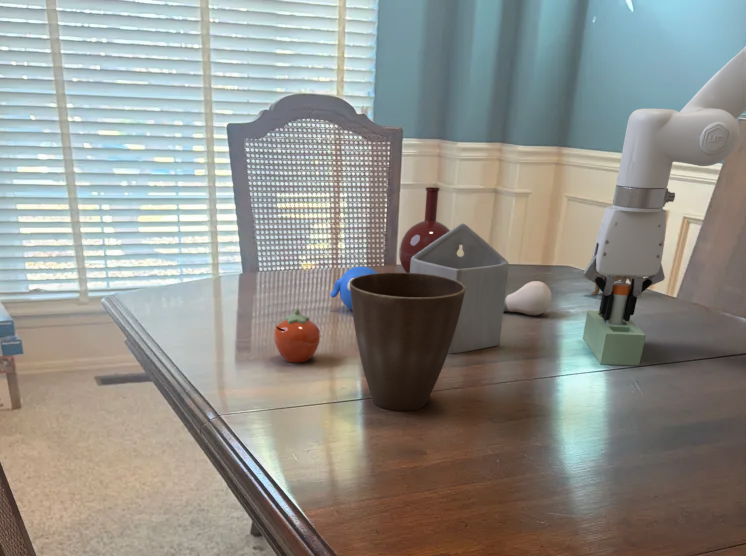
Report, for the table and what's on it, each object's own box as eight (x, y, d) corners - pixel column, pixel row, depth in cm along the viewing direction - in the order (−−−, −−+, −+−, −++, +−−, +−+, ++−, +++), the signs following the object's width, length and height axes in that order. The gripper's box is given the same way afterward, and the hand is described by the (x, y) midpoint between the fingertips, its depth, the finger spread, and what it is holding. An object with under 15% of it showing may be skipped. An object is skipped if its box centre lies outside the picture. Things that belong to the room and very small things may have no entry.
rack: (582, 338, 138) (587, 310, 136) (617, 339, 138) (623, 311, 136) (600, 364, 125) (606, 333, 122) (639, 365, 124) (645, 335, 122)
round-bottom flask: (391, 276, 184) (396, 185, 174) (444, 275, 186) (452, 185, 176) (405, 288, 173) (411, 191, 163) (461, 287, 175) (470, 191, 165)
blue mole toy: (330, 320, 146) (331, 274, 142) (329, 305, 157) (330, 262, 152) (393, 320, 147) (396, 275, 143) (388, 306, 157) (390, 263, 153)
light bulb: (490, 288, 151) (547, 277, 147) (496, 289, 157) (551, 278, 153) (494, 323, 153) (551, 312, 148) (500, 322, 158) (555, 312, 154)
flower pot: (476, 404, 107) (489, 285, 99) (404, 430, 98) (413, 302, 90) (396, 378, 116) (402, 268, 108) (324, 400, 107) (325, 281, 99)
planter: (401, 350, 129) (408, 227, 120) (405, 338, 136) (413, 220, 126) (499, 357, 127) (515, 232, 117) (499, 344, 134) (513, 225, 124)
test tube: (616, 343, 132) (628, 283, 127) (620, 347, 130) (632, 286, 125) (599, 342, 132) (611, 282, 127) (603, 347, 130) (615, 286, 125)
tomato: (268, 355, 126) (267, 305, 122) (311, 351, 128) (311, 302, 124) (281, 368, 120) (280, 316, 116) (326, 363, 122) (327, 312, 118)
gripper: (684, 198, 122) (658, 315, 131) (581, 195, 123) (562, 311, 133) (699, 204, 116) (670, 326, 125) (590, 200, 117) (569, 322, 126)
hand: (615, 317), depth 129 cm, fingers closed on test tube, 2 cm apart
